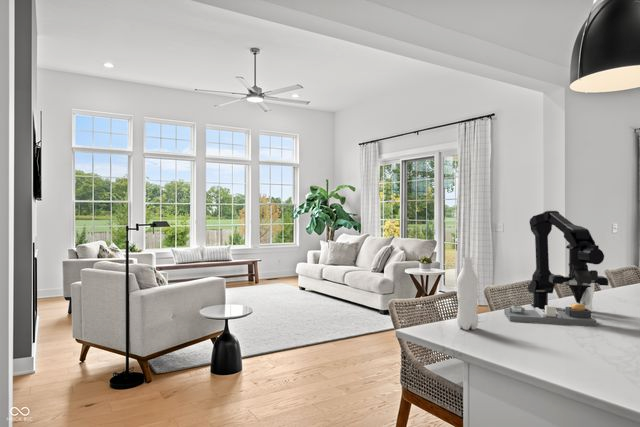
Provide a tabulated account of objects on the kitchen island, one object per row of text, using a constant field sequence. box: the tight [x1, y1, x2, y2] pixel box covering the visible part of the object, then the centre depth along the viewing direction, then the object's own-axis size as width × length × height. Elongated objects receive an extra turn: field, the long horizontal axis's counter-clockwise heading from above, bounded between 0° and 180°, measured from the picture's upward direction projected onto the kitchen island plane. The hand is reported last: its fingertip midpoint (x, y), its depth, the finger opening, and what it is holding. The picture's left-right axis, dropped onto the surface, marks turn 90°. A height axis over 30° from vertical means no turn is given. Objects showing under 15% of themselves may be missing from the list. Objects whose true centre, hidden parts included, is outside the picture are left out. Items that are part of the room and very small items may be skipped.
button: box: [570, 302, 585, 311], centre depth 164 cm, size 4×4×2 cm
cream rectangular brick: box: [544, 304, 557, 317], centre depth 163 cm, size 2×3×4 cm
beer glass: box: [576, 282, 596, 313], centre depth 182 cm, size 7×7×15 cm
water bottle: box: [456, 256, 479, 331], centre depth 154 cm, size 7×7×25 cm
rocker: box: [510, 305, 523, 309], centre depth 170 cm, size 5×3×1 cm, turn 166°
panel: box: [503, 306, 597, 327], centre depth 167 cm, size 13×29×4 cm, turn 76°
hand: (577, 302), depth 164 cm, fingers closed
